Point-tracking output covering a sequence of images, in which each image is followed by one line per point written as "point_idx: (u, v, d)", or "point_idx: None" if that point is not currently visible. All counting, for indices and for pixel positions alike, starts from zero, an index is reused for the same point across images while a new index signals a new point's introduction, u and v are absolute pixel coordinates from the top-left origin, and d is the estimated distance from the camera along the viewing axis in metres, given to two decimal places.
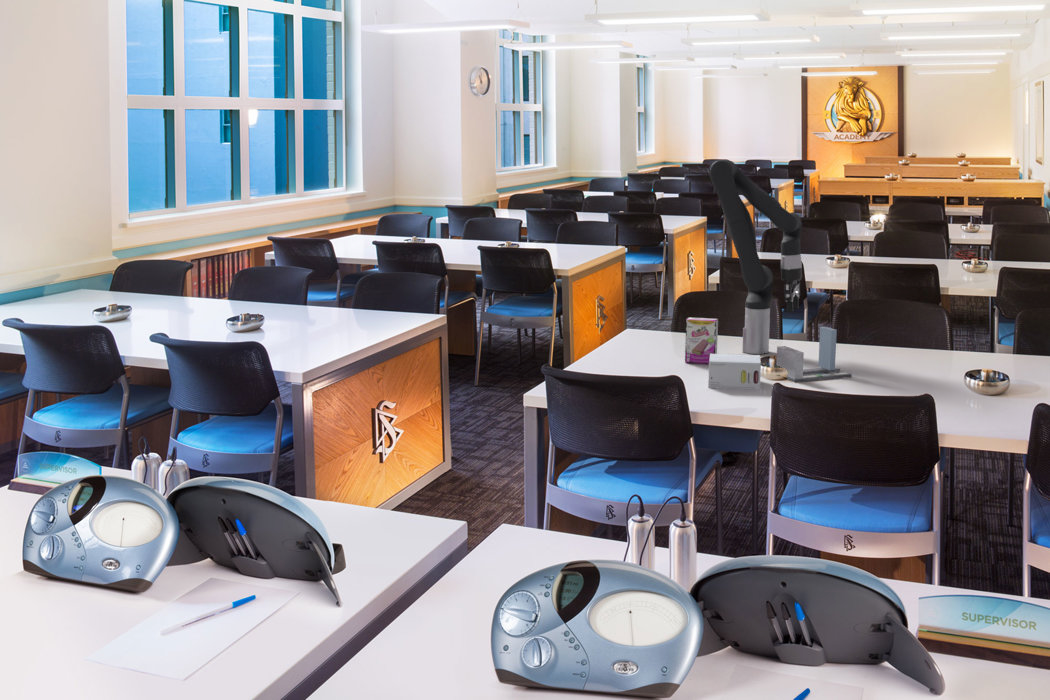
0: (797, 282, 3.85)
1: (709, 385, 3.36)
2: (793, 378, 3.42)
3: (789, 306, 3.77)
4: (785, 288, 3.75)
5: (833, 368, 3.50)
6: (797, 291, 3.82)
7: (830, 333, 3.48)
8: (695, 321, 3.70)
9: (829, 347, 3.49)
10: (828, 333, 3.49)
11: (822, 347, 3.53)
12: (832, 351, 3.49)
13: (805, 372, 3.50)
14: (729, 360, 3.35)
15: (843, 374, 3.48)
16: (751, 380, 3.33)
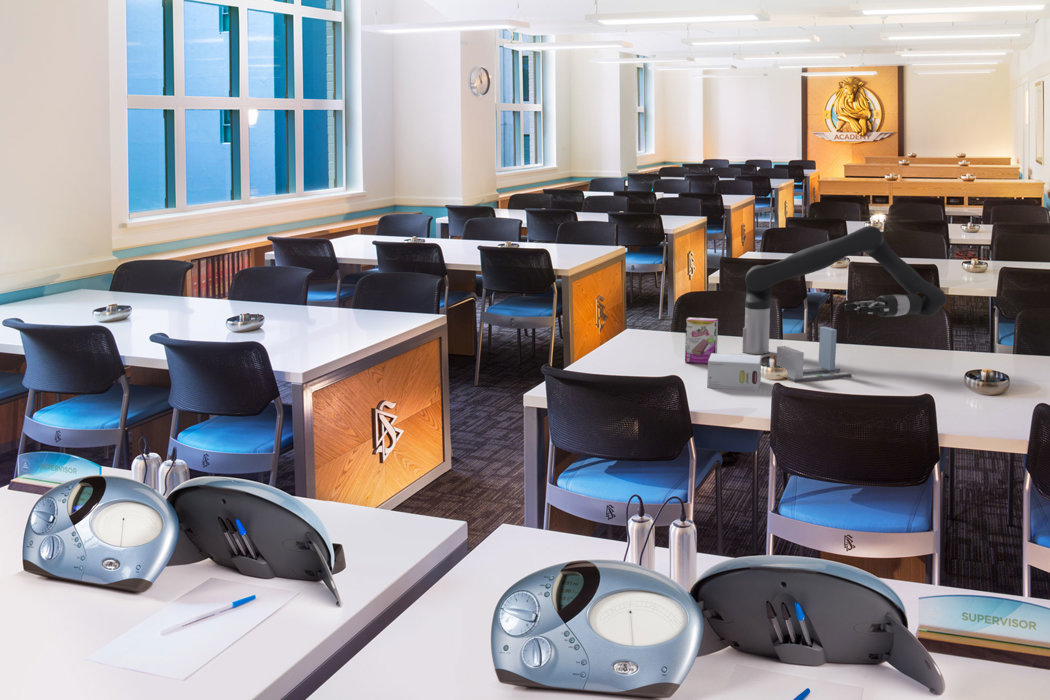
0: None
1: (708, 385, 3.37)
2: (793, 378, 3.42)
3: (865, 310, 3.48)
4: (886, 307, 3.48)
5: (833, 368, 3.50)
6: None
7: (830, 333, 3.48)
8: (695, 321, 3.70)
9: (829, 347, 3.49)
10: (828, 333, 3.49)
11: (822, 347, 3.53)
12: (832, 351, 3.49)
13: (805, 372, 3.50)
14: (728, 360, 3.35)
15: (843, 374, 3.48)
16: (750, 380, 3.33)
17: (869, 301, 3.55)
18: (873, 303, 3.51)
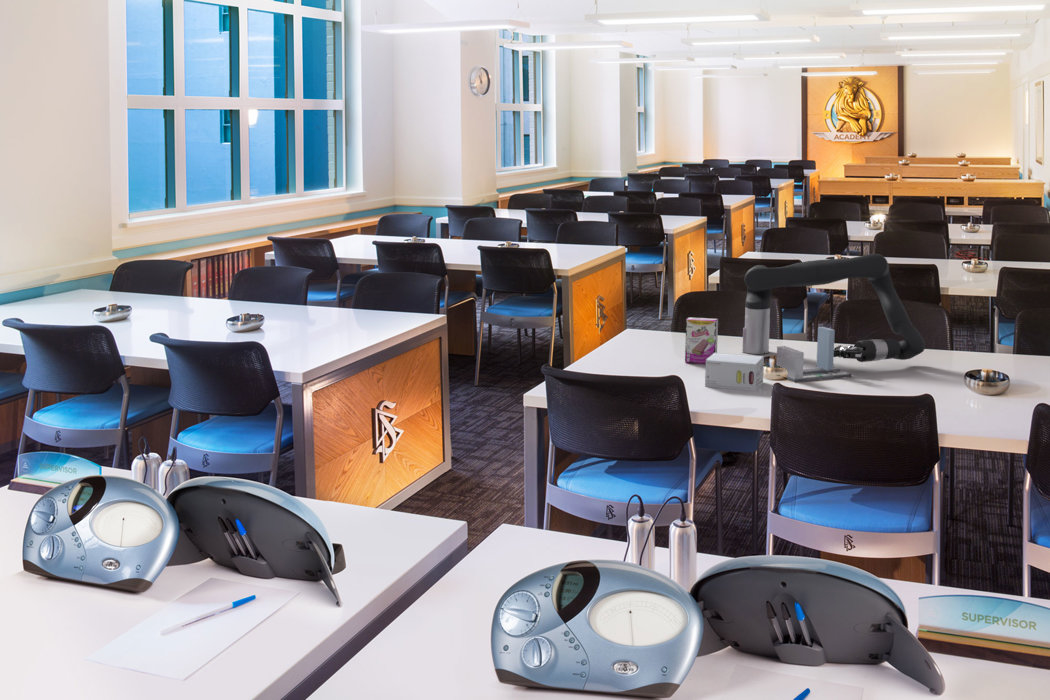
0: None
1: (706, 384, 3.38)
2: (793, 378, 3.42)
3: (835, 354, 3.52)
4: (856, 353, 3.49)
5: (831, 368, 3.50)
6: None
7: (828, 333, 3.47)
8: (695, 321, 3.70)
9: (827, 347, 3.49)
10: (826, 333, 3.49)
11: (820, 347, 3.53)
12: (830, 351, 3.48)
13: (805, 372, 3.50)
14: (726, 360, 3.35)
15: (843, 374, 3.48)
16: (746, 381, 3.32)
17: (849, 346, 3.55)
18: (848, 348, 3.53)
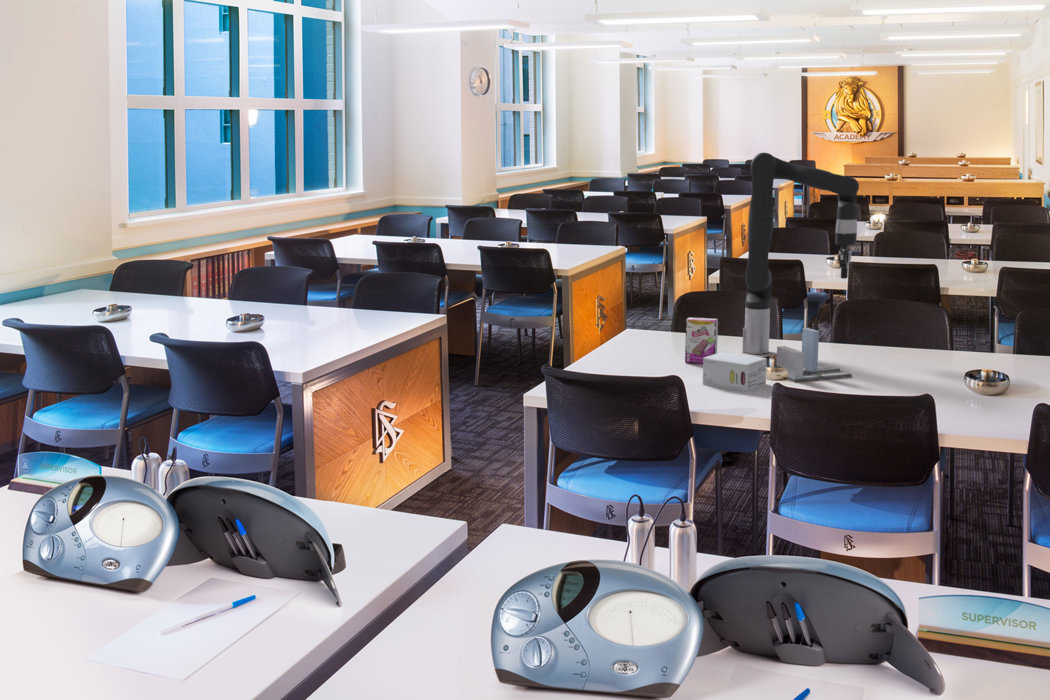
0: None
1: (703, 381, 3.41)
2: (793, 378, 3.42)
3: (844, 273, 3.77)
4: (840, 258, 3.73)
5: (815, 370, 3.48)
6: (849, 257, 3.77)
7: (812, 334, 3.46)
8: (695, 321, 3.70)
9: (811, 348, 3.47)
10: (810, 334, 3.47)
11: (804, 348, 3.51)
12: (814, 352, 3.47)
13: (805, 372, 3.50)
14: (723, 359, 3.37)
15: (843, 374, 3.48)
16: (739, 381, 3.32)
17: None
18: None
